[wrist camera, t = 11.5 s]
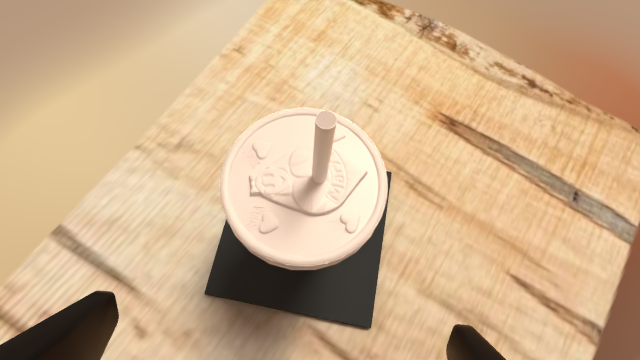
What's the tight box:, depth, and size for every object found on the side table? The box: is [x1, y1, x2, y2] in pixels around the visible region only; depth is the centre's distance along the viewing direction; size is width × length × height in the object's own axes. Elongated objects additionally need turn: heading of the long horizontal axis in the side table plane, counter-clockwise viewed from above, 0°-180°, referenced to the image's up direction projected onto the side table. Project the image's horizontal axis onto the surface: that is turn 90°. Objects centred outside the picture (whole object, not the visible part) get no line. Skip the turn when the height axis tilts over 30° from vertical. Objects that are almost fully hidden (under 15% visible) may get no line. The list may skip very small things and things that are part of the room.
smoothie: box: [219, 108, 388, 270], centre depth 15 cm, size 6×6×14 cm
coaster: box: [205, 171, 391, 328], centre depth 22 cm, size 10×10×1 cm
